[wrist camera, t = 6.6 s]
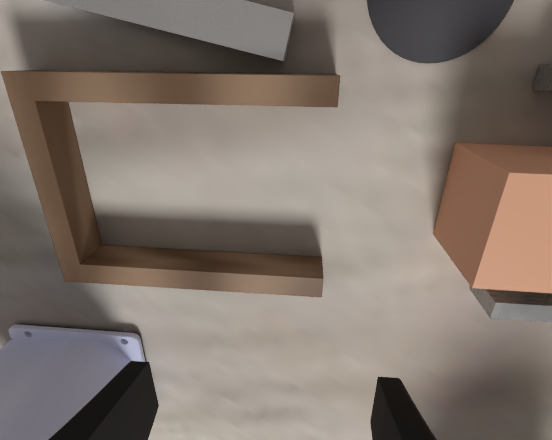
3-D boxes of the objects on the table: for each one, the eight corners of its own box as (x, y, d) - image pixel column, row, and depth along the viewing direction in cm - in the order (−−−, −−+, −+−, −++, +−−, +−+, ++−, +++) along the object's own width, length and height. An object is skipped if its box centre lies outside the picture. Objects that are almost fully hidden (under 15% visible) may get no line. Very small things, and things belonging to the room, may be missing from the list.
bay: (87, 260, 21) (64, 281, 19) (37, 70, 17) (0, 71, 15) (320, 274, 20) (321, 297, 18) (336, 74, 16) (340, 75, 14)
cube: (432, 233, 19) (472, 288, 14) (454, 142, 17) (509, 172, 12) (527, 238, 18) (599, 296, 14) (562, 146, 16) (660, 179, 12)
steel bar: (34, -3, 16) (2, -11, 14) (31, -50, 15) (-3, -64, 13) (285, 61, 16) (283, 61, 14) (295, 18, 15) (293, 12, 14)
